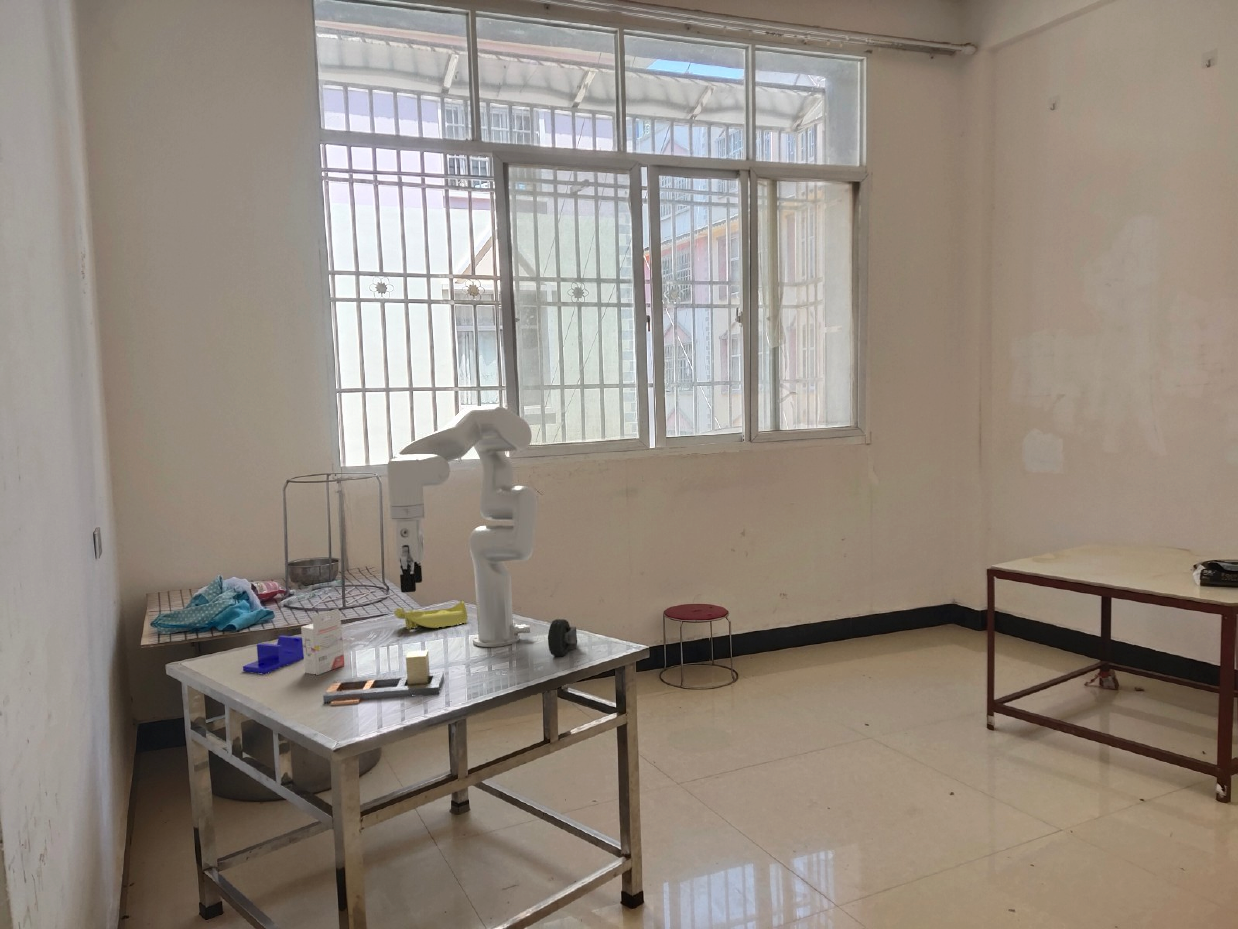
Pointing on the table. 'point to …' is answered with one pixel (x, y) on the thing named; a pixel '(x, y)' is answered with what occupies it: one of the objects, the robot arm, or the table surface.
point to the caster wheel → (561, 637)
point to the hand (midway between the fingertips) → (411, 587)
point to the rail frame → (364, 688)
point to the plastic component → (433, 617)
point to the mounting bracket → (276, 654)
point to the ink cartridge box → (323, 643)
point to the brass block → (417, 668)
